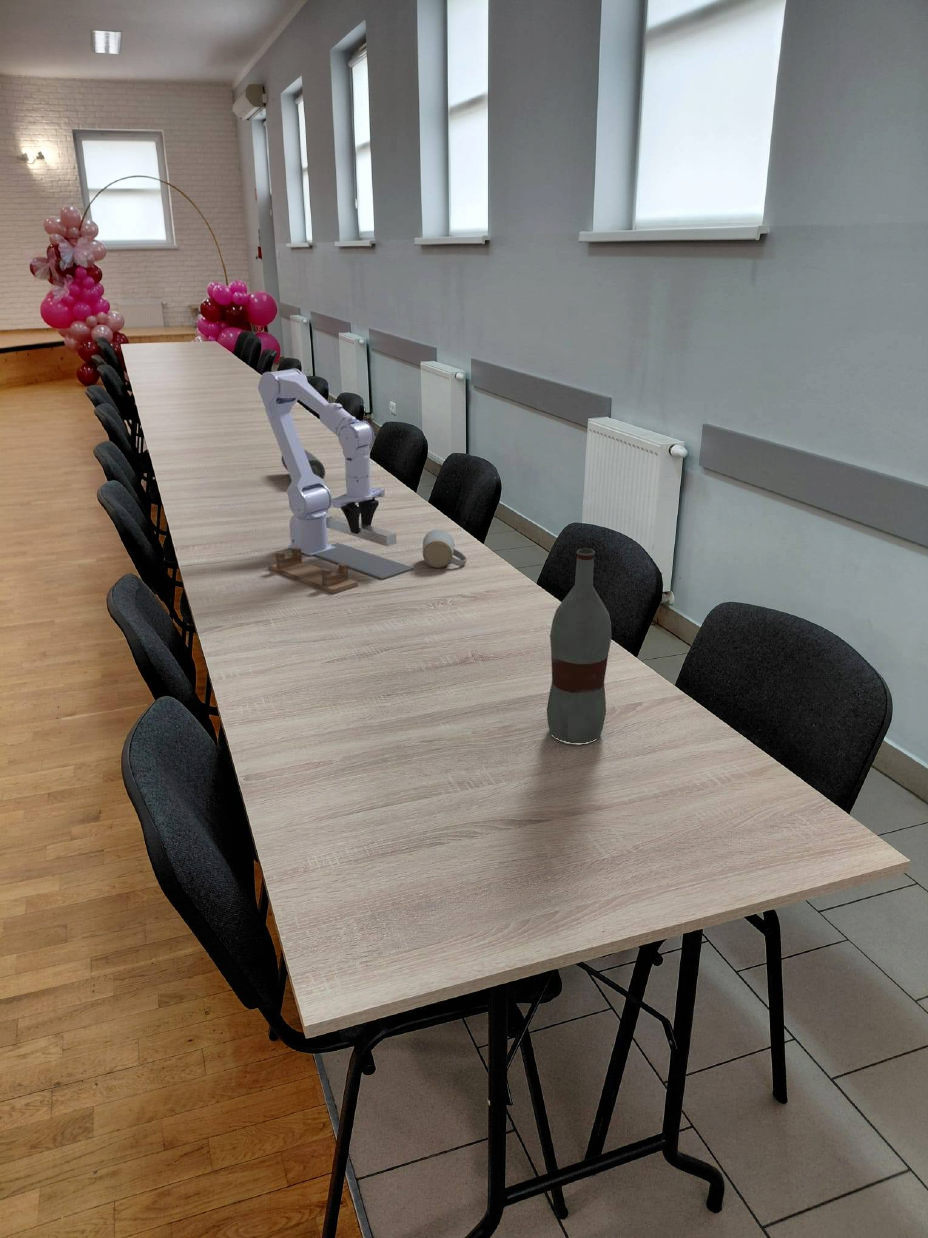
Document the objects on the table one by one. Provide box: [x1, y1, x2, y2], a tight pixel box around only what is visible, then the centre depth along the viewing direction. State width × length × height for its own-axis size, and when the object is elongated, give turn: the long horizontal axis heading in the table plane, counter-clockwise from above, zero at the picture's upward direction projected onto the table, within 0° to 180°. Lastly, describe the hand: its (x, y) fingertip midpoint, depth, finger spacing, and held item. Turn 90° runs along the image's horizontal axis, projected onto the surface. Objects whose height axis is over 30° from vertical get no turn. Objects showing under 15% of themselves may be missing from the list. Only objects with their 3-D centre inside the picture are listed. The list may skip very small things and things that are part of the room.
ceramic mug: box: [422, 528, 468, 569], centre depth 215 cm, size 11×8×8 cm
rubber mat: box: [312, 542, 415, 581], centre depth 218 cm, size 28×10×1 cm, turn 47°
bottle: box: [546, 547, 612, 743], centre depth 135 cm, size 9×9×30 cm
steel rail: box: [326, 514, 397, 547], centre depth 214 cm, size 22×3×2 cm, turn 47°
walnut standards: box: [268, 547, 359, 595], centre depth 206 cm, size 24×7×4 cm, turn 47°
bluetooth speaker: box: [281, 449, 326, 480], centre depth 289 cm, size 23×9×10 cm, turn 25°
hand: (360, 531), depth 214 cm, fingers closed on steel rail, 3 cm apart
